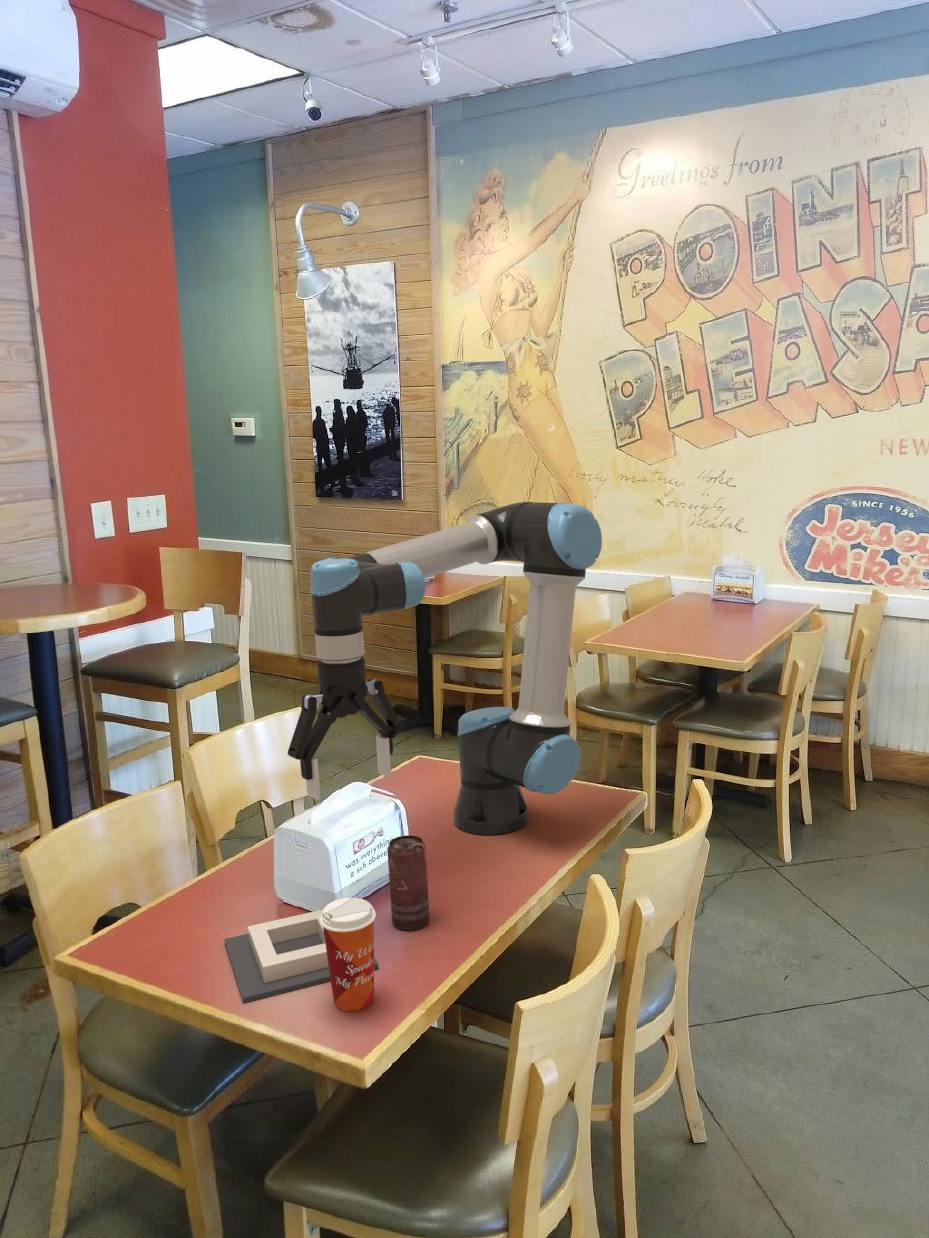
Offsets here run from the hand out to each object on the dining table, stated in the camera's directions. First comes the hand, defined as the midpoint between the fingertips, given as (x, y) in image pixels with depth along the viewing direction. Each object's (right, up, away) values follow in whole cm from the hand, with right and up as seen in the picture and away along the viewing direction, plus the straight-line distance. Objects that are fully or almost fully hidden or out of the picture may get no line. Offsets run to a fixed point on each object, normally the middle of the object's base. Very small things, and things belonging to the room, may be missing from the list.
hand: (350, 785), depth 156 cm
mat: (-7, -25, -7) cm, 27 cm away
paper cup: (+3, -27, -20) cm, 34 cm away
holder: (-7, -24, -8) cm, 26 cm away
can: (+10, -23, +1) cm, 25 cm away
